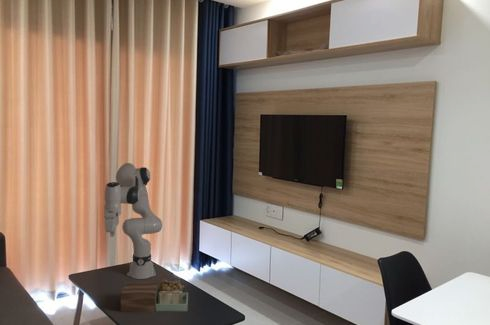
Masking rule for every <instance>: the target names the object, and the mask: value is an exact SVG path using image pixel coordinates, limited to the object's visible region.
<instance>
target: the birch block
mask: <svg viewBox="0 0 490 325" xmlns="http://www.w3.org/2000/svg"><path fill="white" fill-rule="evenodd" d="M182 293H183V291H182V290H180V291H161V292H160V304H182Z"/></svg>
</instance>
